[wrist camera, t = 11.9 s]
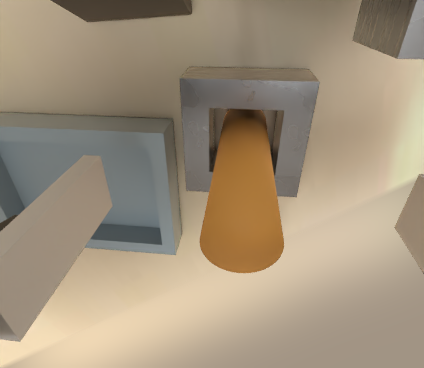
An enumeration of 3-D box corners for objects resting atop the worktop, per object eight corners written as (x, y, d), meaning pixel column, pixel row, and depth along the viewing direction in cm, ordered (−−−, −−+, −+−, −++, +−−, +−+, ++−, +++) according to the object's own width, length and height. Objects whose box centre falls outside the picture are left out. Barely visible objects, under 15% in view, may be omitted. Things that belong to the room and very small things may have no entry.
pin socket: (193, 167, 21) (186, 190, 18) (189, 66, 17) (179, 78, 14) (290, 172, 20) (296, 197, 18) (308, 69, 16) (319, 81, 14)
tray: (27, 221, 26) (8, 241, 24) (-25, 111, 20) (-56, 123, 18) (181, 233, 25) (175, 255, 23) (172, 118, 19) (163, 133, 17)
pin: (222, 142, 19) (200, 269, 10) (223, 102, 18) (198, 209, 9) (263, 144, 19) (278, 276, 10) (268, 103, 18) (289, 215, 9)
